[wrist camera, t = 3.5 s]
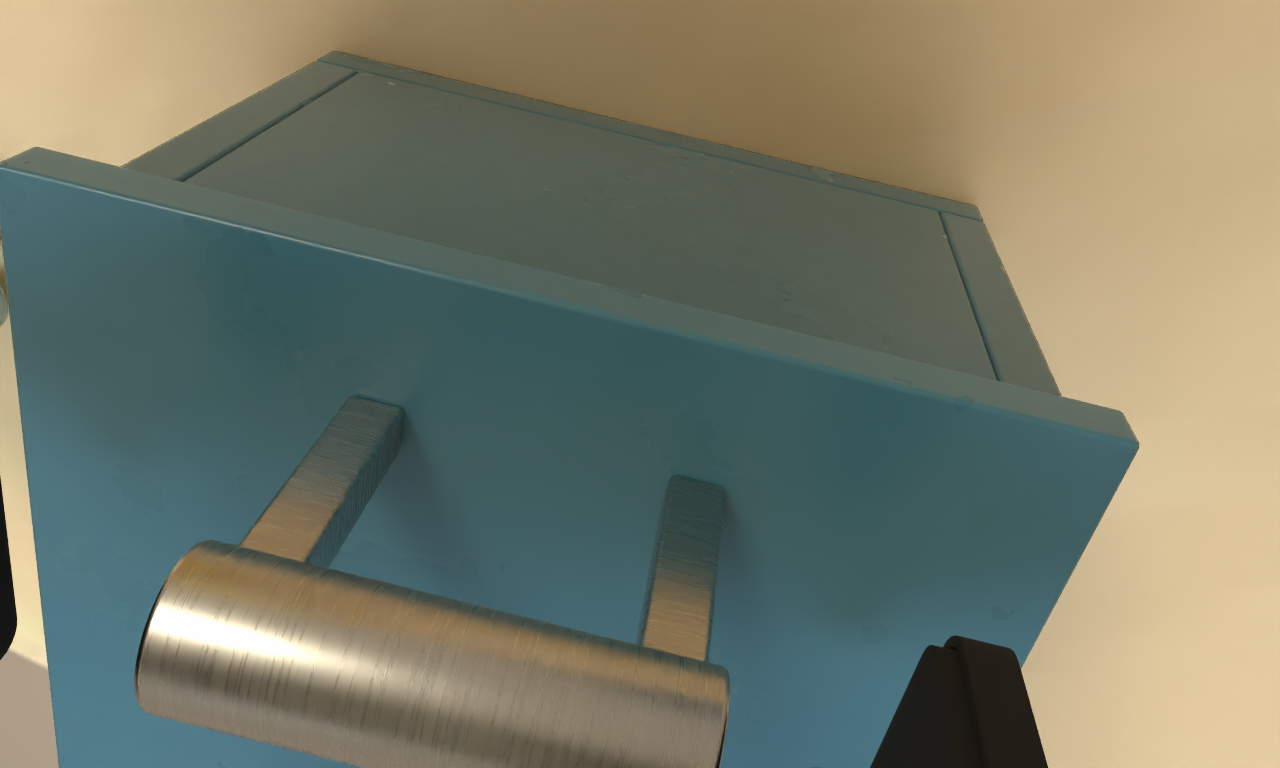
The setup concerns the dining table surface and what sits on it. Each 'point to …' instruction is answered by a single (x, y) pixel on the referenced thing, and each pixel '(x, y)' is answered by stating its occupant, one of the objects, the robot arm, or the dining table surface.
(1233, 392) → the dining table surface
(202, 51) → the dining table surface
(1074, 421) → the teal box lid
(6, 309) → the pacifier
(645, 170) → the teal open box
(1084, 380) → the dining table surface
